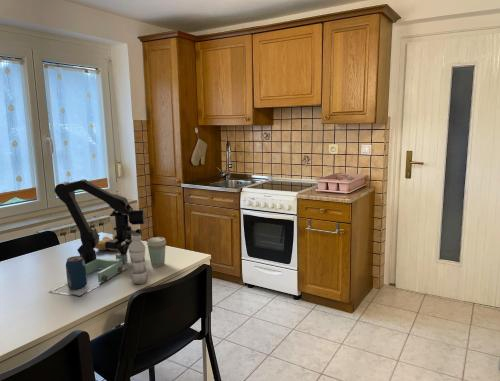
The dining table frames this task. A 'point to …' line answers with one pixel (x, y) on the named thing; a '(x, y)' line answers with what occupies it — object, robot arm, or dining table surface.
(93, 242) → the robot arm
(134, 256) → the plastic bottle
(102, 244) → the ginger root
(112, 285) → the dining table surface
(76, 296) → the rails
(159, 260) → the coffee cup
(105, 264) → the cart
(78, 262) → the soda can
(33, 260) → the dining table surface
